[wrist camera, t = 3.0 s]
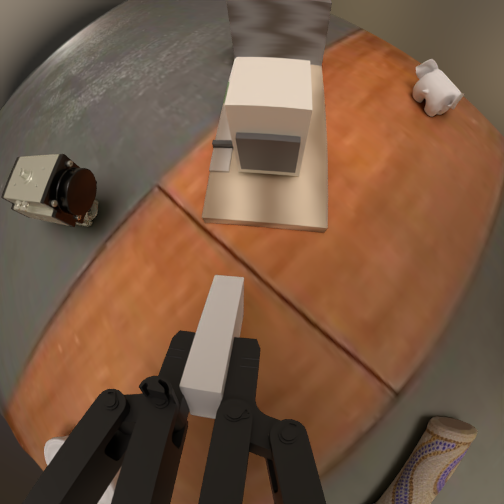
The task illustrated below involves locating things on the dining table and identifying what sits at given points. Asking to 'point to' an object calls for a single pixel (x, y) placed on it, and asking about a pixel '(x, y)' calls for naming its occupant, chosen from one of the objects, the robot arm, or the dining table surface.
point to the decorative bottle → (431, 462)
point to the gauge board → (315, 154)
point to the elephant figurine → (435, 89)
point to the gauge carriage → (268, 114)
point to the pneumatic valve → (52, 190)
